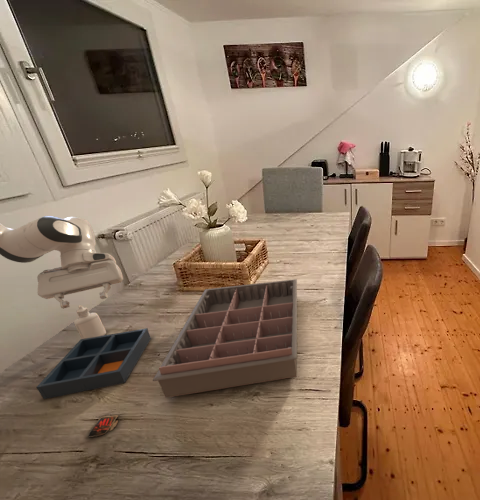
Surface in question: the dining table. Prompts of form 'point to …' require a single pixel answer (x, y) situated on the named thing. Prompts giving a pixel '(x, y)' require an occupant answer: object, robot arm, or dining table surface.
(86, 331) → the eye dropper bottle
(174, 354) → the organizer tray
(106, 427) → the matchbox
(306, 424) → the dining table surface
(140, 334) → the grid
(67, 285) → the robot arm
